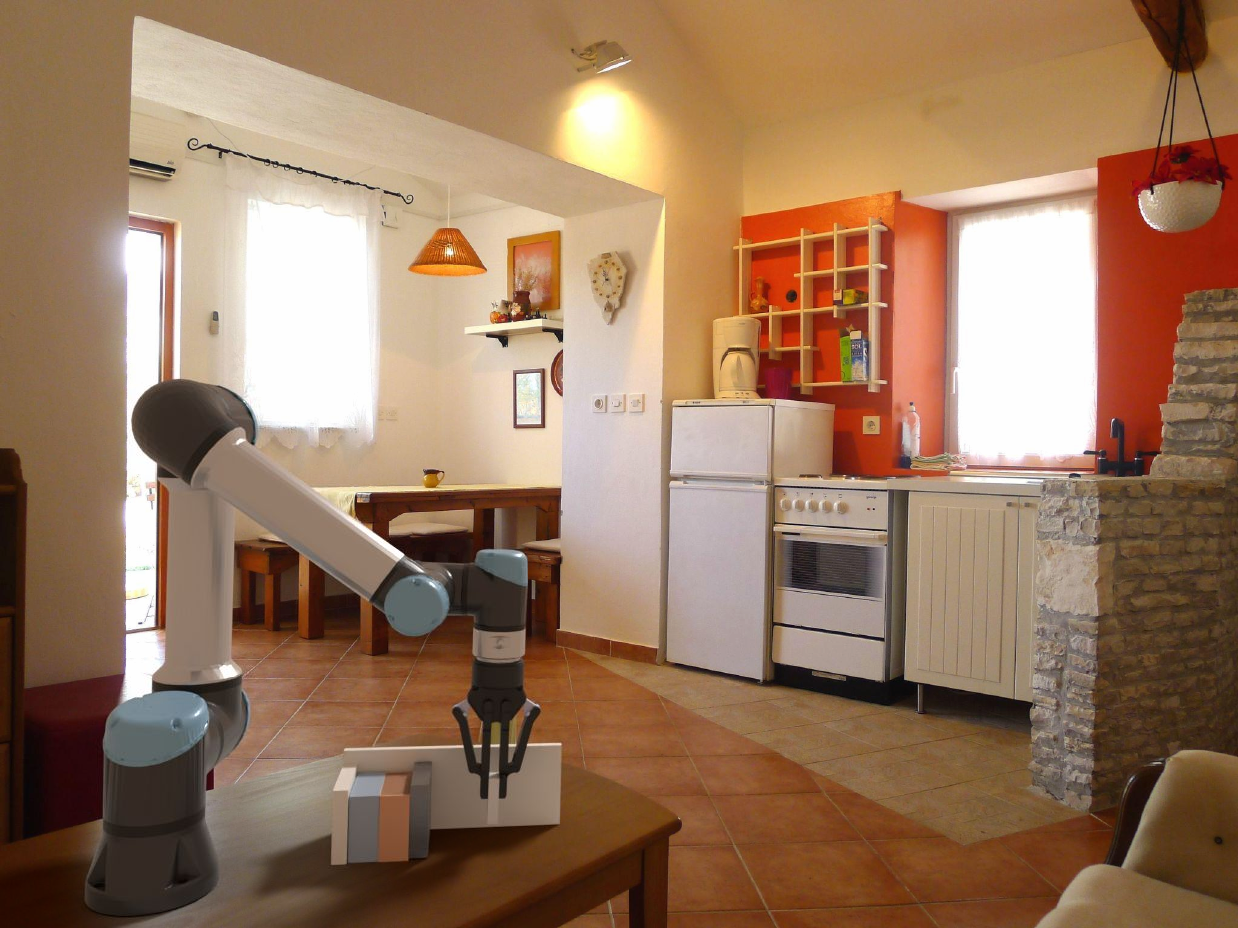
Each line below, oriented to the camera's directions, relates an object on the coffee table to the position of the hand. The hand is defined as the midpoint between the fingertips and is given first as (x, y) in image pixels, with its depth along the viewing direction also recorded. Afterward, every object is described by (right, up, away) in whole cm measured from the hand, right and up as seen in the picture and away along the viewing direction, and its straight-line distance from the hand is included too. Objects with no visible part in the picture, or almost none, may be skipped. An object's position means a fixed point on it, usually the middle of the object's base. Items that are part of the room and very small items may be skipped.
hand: (492, 820), depth 134 cm
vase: (-3, -3, +33) cm, 34 cm away
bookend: (-10, -3, -2) cm, 11 cm away
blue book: (-17, -3, -3) cm, 18 cm away
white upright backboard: (-6, -3, 0) cm, 6 cm away
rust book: (-13, -3, -2) cm, 14 cm away
